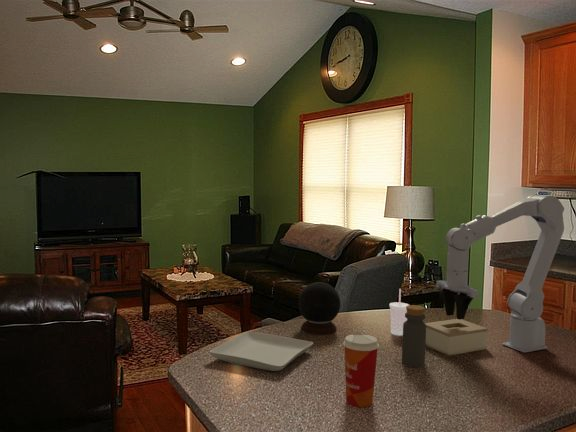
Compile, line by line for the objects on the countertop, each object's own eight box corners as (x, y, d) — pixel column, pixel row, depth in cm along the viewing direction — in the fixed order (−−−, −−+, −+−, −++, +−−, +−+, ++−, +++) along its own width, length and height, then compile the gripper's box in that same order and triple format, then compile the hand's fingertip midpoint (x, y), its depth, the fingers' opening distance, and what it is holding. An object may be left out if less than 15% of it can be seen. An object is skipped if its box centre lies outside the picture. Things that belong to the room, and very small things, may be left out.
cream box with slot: (458, 337, 162) (459, 318, 162) (486, 349, 152) (487, 328, 152) (422, 343, 156) (422, 323, 155) (448, 355, 146) (449, 334, 146)
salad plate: (314, 352, 148) (315, 340, 147) (281, 379, 129) (281, 365, 128) (247, 341, 157) (247, 329, 156) (207, 364, 137) (207, 351, 137)
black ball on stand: (289, 330, 166) (290, 283, 165) (310, 321, 177) (311, 276, 176) (327, 338, 159) (328, 288, 158) (346, 327, 170) (348, 281, 169)
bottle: (425, 368, 136) (427, 310, 135) (401, 366, 137) (403, 309, 136) (424, 360, 142) (426, 305, 141) (401, 358, 143) (403, 303, 142)
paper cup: (338, 394, 119) (340, 333, 118) (372, 394, 120) (374, 333, 119) (345, 410, 111) (347, 344, 110) (381, 409, 112) (383, 344, 111)
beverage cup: (411, 332, 167) (413, 288, 166) (404, 337, 162) (406, 291, 160) (392, 329, 170) (394, 285, 169) (385, 333, 165) (386, 289, 164)
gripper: (429, 266, 157) (427, 312, 158) (465, 275, 144) (463, 325, 145) (447, 265, 160) (445, 309, 161) (484, 274, 147) (482, 322, 148)
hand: (455, 317), depth 153 cm, fingers open, 4 cm apart
